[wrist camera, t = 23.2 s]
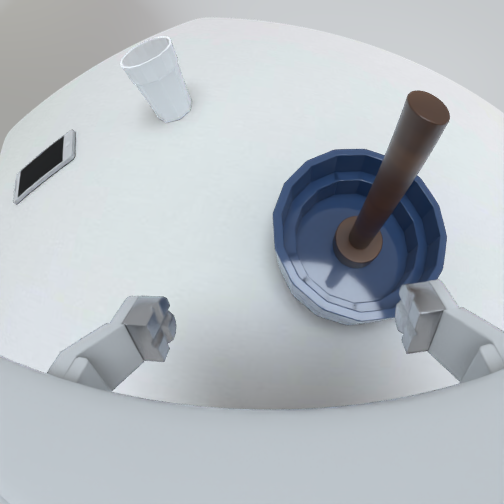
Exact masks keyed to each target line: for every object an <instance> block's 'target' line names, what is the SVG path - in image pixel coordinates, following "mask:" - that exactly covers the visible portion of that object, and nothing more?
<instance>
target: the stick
mask: <svg viewBox="0 0 504 504" xmlns="http://www.w3.org/2000/svg"><path fill="white" fill-rule="evenodd" d="M449 120H450V114H449V111H448V109H447V107H446V106H445V105H444V103H443V102H442V101H441V100H439V99H438V98H437V97H435V96H434V95H432V94H430V93H427V92H424V91H412V92H410V93H409V94H408V96H407V99H406V102H405V104H404V107H403V110H402V113H401V115H400V118H399V121H398V123H397V126H396V129H395V131H394V134H393V136H392V139H391V142H390V144H389V147H388V149H387V151H386V154H385V156H384V159H383V161H382V164H381V166H380V168H379V171H378V173H377V175H376V178H375V180H374V182H373V184H372V187H371V189H370V191H369V193H368V196H367V198H366V200H365V202H364V204H363V207H362V209H361V211H360V213H359V215H358V216H352V217H349V218H346V219H345V220H343V221H342V222H341V223H340V224H339V226H338V228H337V230H336V233H335V236H334V239H333V250H334V253H335V255H336V257H337V258H338V260H339V261H340V262H341V263H343V264H344V265H346V266H348V267H351V268H362V267H365V266H367V265H369V264H370V263H371V262H372V261H373V260H374V259H375V258H376V257H377V256H378V254H379V253H380V251H381V249H382V244H383V239H382V234H381V231H380V229H381V228H382V226H383V225H384V223H385V222H386V221H387V219H388V218H389V216H390V215H391V213H392V212H393V211H394V209H395V208H396V206H397V205H398V203H399V202H400V200H401V199H402V197H403V196H404V194H405V193H406V191H407V190H408V188H409V187H410V185H411V184H412V182H413V181H414V179H415V177H416V176H417V174H418V173H419V171H420V170H421V168H422V166H423V165H424V163H425V162H426V160H427V158H428V157H429V155H430V153H431V152H432V150H433V148H434V147H435V145H436V143H437V141H438V140H439V138H440V136H441V134H442V133H443V131H444V129H445V127H446V126H447V124H448V122H449Z"/></svg>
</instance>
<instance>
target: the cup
mask: <svg viewBox="0 0 504 504" xmlns="http://www.w3.org/2000/svg"><path fill="white" fill-rule="evenodd" d="M120 65H121V67H122V68H123V70H124V71H125V72H126V74H127V75H128V77H129V78H130V80H131V81H132V82H133V84H135V85H136V86H137V88H138V89H139V91H140V92H141V93H142V95H143V96H144V98H145V99H146V100H147V102H148V103H149V105H150V106H151V108H152V109H153V110H154V112H155V113H156V115H157V117H158V118H159V119H161V120H163V121H164V122H166V123H167V122H171V121H175V120H180V119H181V118H182V117H183V116H184V115H186V114H187V113H188V112H189V111H190V110H191V104H192V100H191V98H190V95H189V92H188V89H187V87H186V84H185V81H184V78H183V75H182V72H181V69H180V67H179V64H178V57H177V55H176V52H175V49H174V46H173V43H172V40H171V39H170V38H169V37H156V38H152V39H149V40H147V41H144V42H142V43H140V44H139V45H137V46H135V47H133V48H132V49H131V50H130V51H129V52H127V53H126V54H125V55H124V57H123V58H122V59H121V62H120Z"/></svg>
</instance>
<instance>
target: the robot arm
mask: <svg viewBox="0 0 504 504" xmlns="http://www.w3.org/2000/svg"><path fill="white" fill-rule="evenodd" d="M399 296H400V298H401V300H400V301H399V302H398V303H397V304H396V310H395V322H396V326H397V329H398V331H399V332H401V333H402V334H403V336H402V343H403V345H404V348H405V351H406V354H410V353H417V352H423V351H428V352H429V353H430V354H431V355H432V356H433V357H434V358H435V359H436V360H437V361H438V362H439V363H440V364H442V365H443V366H444V367H445V368H446V369H447V370H448V371H449V372H450V373H451V374H452V375H453V376H454V377H455V378H456V379H457V380H459V381H460V383H459V384H456V385H453V386H449V387H446V388H442V389H438V390H434V391H430V392H425V393H421V394H416V395H411V396H406V397H401V398H396V399H390V400H384V401H378V402H371V403H364V404H356V405H347V406H338V407H326V408H311V409H281V410H262V409H232V408H216V407H204V406H194V405H185V404H177V403H170V402H163V401H156V400H150V399H144V398H139V397H134V396H128V395H124V394H119V393H114V392H112V391H113V390H114V389H115V388H116V387H117V386H118V385H119V384H120V383H121V382H122V381H124V380H125V379H126V378H127V377H128V376H129V375H130V374H131V373H132V372H133V371H134V370H136V369H137V368H138V367H139V366H140V365H141V364H142V363H143V362H144V361H157V362H164V361H165V359H166V357H167V354H168V352H169V349H170V348H169V345H168V343H170V342H171V341H172V340H174V337H175V334H176V320H175V318H174V315H173V314H172V313H171V312H169V311H168V309H169V307H170V304H169V302H168V300H167V298H166V297H164V296H129V297H127V298H126V300H125V301H124V302H123V304H122V305H121V307H120V308H119V310H118V311H117V313H116V314H115V316H114V317H113V319H112V320H111V322H110V323H106V324H104V325H102V326H101V327H99V328H98V329H96V330H94V331H93V332H91V333H90V334H88V335H86V336H85V337H83V338H82V339H80V340H79V341H77V342H75V343H74V344H72V345H71V346H69V347H67V348H66V349H64V350H63V351H61V352H60V354H59V355H58V357H57V358H56V360H55V361H54V363H53V364H52V366H51V367H50V369H49V370H48V372H47V373H44V372H41V371H38V370H35V369H33V368H30V367H27V366H25V365H22V364H20V363H17V362H15V361H12V360H10V359H8V358H5V357H3V356H1V355H0V504H504V331H502V330H500V329H499V328H497V327H495V326H494V325H492V324H491V323H489V322H487V321H486V320H484V319H482V318H480V317H479V316H477V315H475V314H474V313H472V312H470V311H469V310H467V309H465V308H463V307H461V308H459V306H458V305H457V303H456V302H455V300H454V298H453V297H452V295H451V294H450V292H449V291H448V289H447V288H446V286H445V285H444V283H443V282H442V281H441V280H439V279H437V280H431V281H427V282H419V283H410V284H402V285H401V287H400V290H399Z"/></svg>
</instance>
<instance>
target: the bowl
mask: <svg viewBox="0 0 504 504" xmlns="http://www.w3.org/2000/svg"><path fill="white" fill-rule="evenodd" d="M384 156H385V155H382V154H379V153H376V152H373V151H370V150H367V149H366V150H365V149H336V150H332V151H330V152H327V153H325V154H322V155H320V156H317V157H315V158H312V159H310V160H308V161H306V162H305V163H304V164H303V165H302V166H301V167H300V168H299V169H298V170H297V171H296V172H295V173H294V174H293V175H292V176H291V177H290V178H289V179H288V180H287V181H286V182H285V183H284V185H283V188H282V191H281V193H280V196H279V198H278V201H277V204H276V206H275V209H274V212H273V227H274V244H275V252H276V256H277V261H278V266H279V268H280V270H281V272H282V274H283V276H284V279H285V281H286V283H287V285H288V287H289V289H290V291H291V293H292V294H293V296H295V297H296V298H297V299H298V300H299V301H300V302H301V303H303V304H304V305H305V306H306V307H307V308H308V309H309V310H311V311H312V312H313V313H314V314H315V315H317V316H319V317H322V318H325V319H328V320H332V321H335V322H338V323H341V324H344V325H354V324H363V323H371V322H378V321H382V320H387V319H391V318H395V310H396V304H397V303H398V302H399V301H400V300H401V298H400V296H399V290H400V287H401V285H402V284H410V283H419V282H427V281H431V280H437V279H438V277H439V275H440V274H441V272H442V269H443V265H444V258H445V250H446V241H447V235H446V231H445V226H444V222H443V219H442V215H441V211H440V207H439V205H438V203H437V201H436V200H435V198H434V197H433V195H432V194H431V192H430V191H429V189H428V188H427V186H426V185H425V184H424V182H423V181H422V179H421V178H420V177H419V176H416V177H415V179H414V181H413V182H412V184H411V185H410V187H409V188H408V190H407V191H406V193H405V194H404V196H403V197H402V199H401V200H400V202H399V203H398V205H397V206H396V208H395V209H394V211H393V212H392V213H391V215H390V216H389V218H388V219H387V221H386V222H385V223H384V225H383V226H382V228H381V229H380V231H381V234H382V239H383V244H382V249H381V251H380V253H379V254H378V256H377V257H376V258H375V259H374V260H373V261H372V262H371V263H370V264H369V265H367V266H365V267H362V268H351V267H348V266H346V265H344V264H343V263H341V262H340V261H339V260H338V258H337V257H336V255H335V253H334V250H333V239H334V236H335V233H336V230H337V228H338V226H339V224H340V223H341V222H342V221H343V220H345V219H346V218H349V217H352V216H358V215H359V213H360V211H361V209H362V207H363V204H364V202H365V200H366V198H367V196H368V193H369V191H370V189H371V187H372V184H373V182H374V180H375V178H376V175H377V173H378V171H379V168H380V166H381V164H382V161H383V159H384Z"/></svg>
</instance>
